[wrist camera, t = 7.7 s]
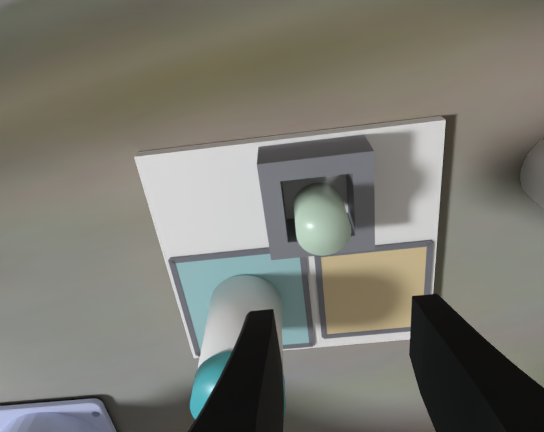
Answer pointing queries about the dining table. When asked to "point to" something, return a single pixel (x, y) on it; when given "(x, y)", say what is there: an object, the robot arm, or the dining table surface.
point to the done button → (321, 219)
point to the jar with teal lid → (230, 329)
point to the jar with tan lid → (534, 174)
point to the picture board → (282, 233)
